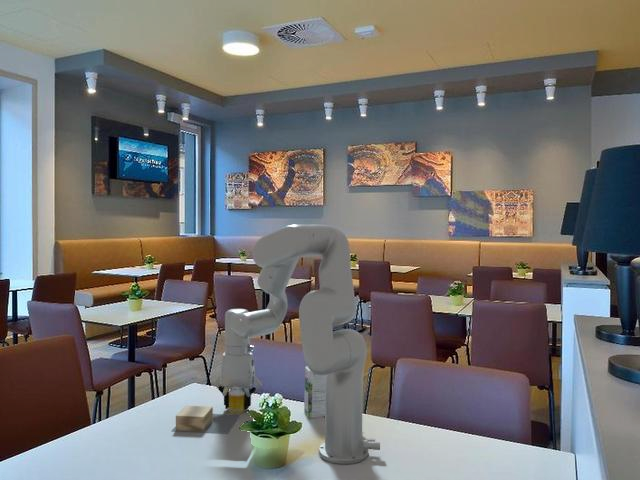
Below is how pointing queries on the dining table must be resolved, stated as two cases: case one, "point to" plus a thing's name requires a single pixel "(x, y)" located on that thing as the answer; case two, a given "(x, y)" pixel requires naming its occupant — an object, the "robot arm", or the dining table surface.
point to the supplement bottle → (237, 400)
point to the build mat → (217, 424)
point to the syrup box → (314, 394)
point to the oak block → (194, 418)
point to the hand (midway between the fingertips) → (237, 407)
